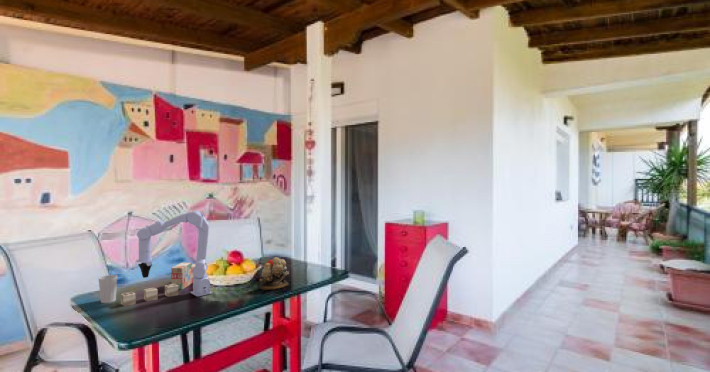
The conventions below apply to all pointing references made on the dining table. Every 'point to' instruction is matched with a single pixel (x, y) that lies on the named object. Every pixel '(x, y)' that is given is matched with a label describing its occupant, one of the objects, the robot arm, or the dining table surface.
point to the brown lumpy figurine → (274, 275)
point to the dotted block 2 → (171, 290)
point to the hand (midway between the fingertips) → (145, 277)
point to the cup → (108, 288)
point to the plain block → (150, 294)
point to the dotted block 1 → (128, 298)
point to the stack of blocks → (182, 274)
